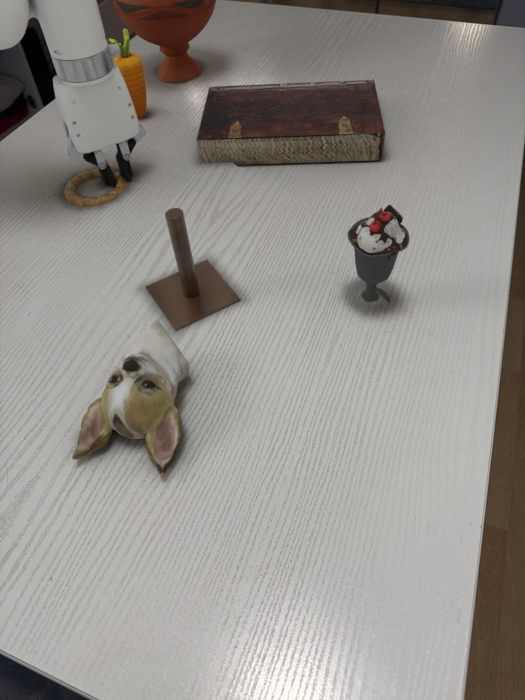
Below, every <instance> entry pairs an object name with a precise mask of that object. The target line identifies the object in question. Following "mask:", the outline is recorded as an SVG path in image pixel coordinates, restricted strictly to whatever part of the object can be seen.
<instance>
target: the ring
mask: <svg viewBox="0 0 525 700" xmlns="http://www.w3.org/2000/svg"><path fill="white" fill-rule="evenodd" d="M112 173H113V176H114V179H115V182H116V187H114V188H112V190H110V191H109V192H108V193H107V194H106V193H104V194H102V195H100V196H97V197H91V198H90V197H87V198H84V197H82V196H78V195H77V194H76V191H77V187H78V186H79V185H81V184H82V183H83V182H84V181H87V180H90V179H92V178H100V177H101V175H100V171H99V168H92V169H89V170H86V171H83V172H81V173H78V174H76V175H75V176H74V177H72V178H71V179H70V180H69V181H68V182H67V183H66V186H65V188H64V191H63V196H64V198H65V199H66V201H67V202H68V203H69V204H71V205H73V206H77V207H81V208H89V207H100V206H102V205H105V204H109V203H110V202H113V201H115V200H117V199H118V198H119V197H120V196H121V195H122V194H123V193H125V191H126V189H127V183H128V182H127V180H126V179H125V178H124V177H123V175H122V174H121V173H120V171H117V170H114V169H112Z"/></svg>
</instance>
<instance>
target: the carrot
mask: <svg viewBox="0 0 525 700" xmlns="http://www.w3.org/2000/svg"><path fill="white" fill-rule="evenodd" d="M122 35H123V36H122V37H123V44H122V43H121V42H119V43H118V41H117V40H116V39H115V38H114V39H113V38H111V37H109V38H108V43H110V44H112V45H113V44H116V43H117V44H118V46H119V48H120V52H121V54H119V55H116V57H114V62H115V63H116V65H117V66H118V68H119V70H120V72H121V74H122V76H123V78H124V81H125V83H126V86H127V88H128V91H129V94H130V96H131V99H132V102H133V105H134V108H135V111H136V114H137V118H138V120H140V119H144V118H145V116H146V114H147V113H146V112H147V107H148V104H147V103H148V100H147V85H146V78H145V73H144V66H143V63H142V58H141V56H140V55H139V54H137V53H134V52H131V51H130V41H131V38H130V33H129V30H128V29H127V28H123V29H122Z"/></svg>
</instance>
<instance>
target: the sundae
mask: <svg viewBox="0 0 525 700" xmlns="http://www.w3.org/2000/svg"><path fill="white" fill-rule="evenodd" d="M403 221H404V217H403V215H402V214H401V213H400V212H399V211H398V210H397V209H395V207H394V206H393V205H391V204H388V205H386V207H385V208H384V209H383V208H382V207H380V208H379V210H377V211H375V212H374V213H372V214H370V216H368V217H364V218H361V219H360V220H357V221H356V222H355V223H354V224H353V225H352V226H351V227H350V228H349V229H348V231H347V240H348V241H349V243H350V245H351V246H352V247H353V251H354V264H355V269H356V274H357V276H358V277H359V279H360V280H361V281H363V282H364V283H366V288H365V290H364V291H362V292H361V294H360V295H361V298H362V300H364V301H365V302H367V303H373V302H376V301H378V300H379V299H380V296H381V297H382V298H383V299H384V300H385V301H386V302H388V303H389V304H391V298H390V296H389V294H388V293H387V292H386V291H385V290H383V289H382V288H380V287H378V284H381V283H383V282H385V281H388V279H389V278H390V277H391V274H392V272H393V270H394V268H395V265H396V261H397V259H398V256H399V253H400V252H403V251H405V250H406V249H407V248H408V246H409V244H410V233H409V231H408V229H407V227H405V225H404V224H402V223H403Z"/></svg>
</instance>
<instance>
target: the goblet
mask: <svg viewBox="0 0 525 700" xmlns="http://www.w3.org/2000/svg"><path fill="white" fill-rule="evenodd" d="M216 2H217V0H112V4H113V7H114V9H115V11H116V13H117V15H118V17H119V18H120V20H121V21H122V23H124V25H126V27H128V28H129V29H130V31H132V32H133V33H134V34H135V35H136V36H138V37H139V38H140V39H142V40H144V41H146V42H148V43H150V44H152V45H155V46H158V47H159V52H161V53H162V54H163V55H164V58H163V60H162V62H161V64H160V65H159V68H158V79H160V80H161V82H164V83H167V84H182V83H187V82H189V81H193V80H194V79H196V78H198V77H200V76H201V73H202V68H201V66H200V64H199V63H198V61H196V59H194V58H193V57H192V56H191V55H189V54H188V51H189V49H190V42H191V41H192V40H194V39H195V38H196V37H197V36H198V35H199V34H200V33H201V32H202V31H203V30H204V28H205V27H206V26H207V24H208V23H209V21H210V19H211V17H213V13H214V11H215V8H216Z"/></svg>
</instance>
